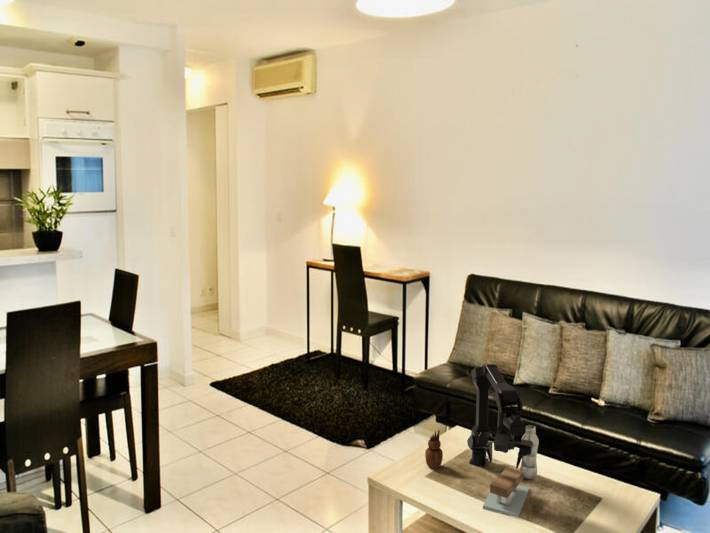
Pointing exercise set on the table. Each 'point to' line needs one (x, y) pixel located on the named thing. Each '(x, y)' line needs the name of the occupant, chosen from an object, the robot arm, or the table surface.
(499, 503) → the peg stand
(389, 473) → the table surface
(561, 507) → the table surface
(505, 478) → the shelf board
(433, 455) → the wooden figurine
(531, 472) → the plastic bottle
